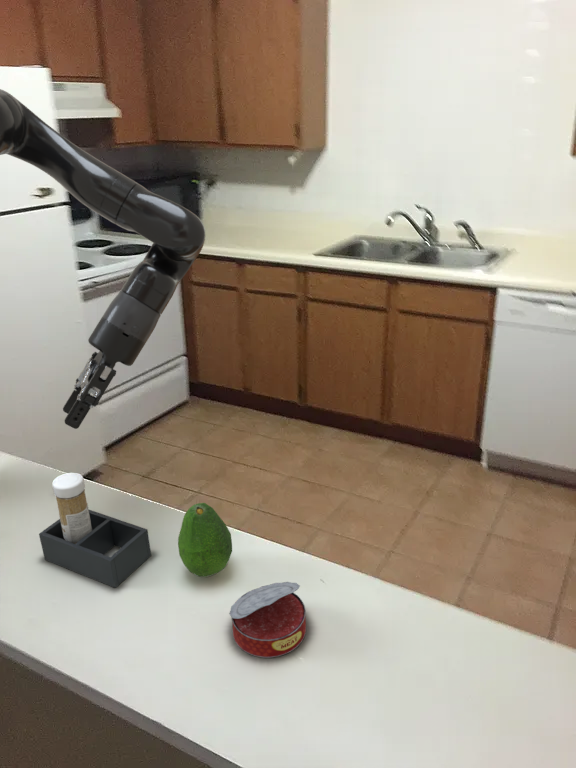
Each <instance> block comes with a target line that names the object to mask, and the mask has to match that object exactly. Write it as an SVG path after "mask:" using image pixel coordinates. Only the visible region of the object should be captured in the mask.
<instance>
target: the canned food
mask: <svg viewBox="0 0 576 768" xmlns="http://www.w3.org/2000/svg"><path fill="white" fill-rule="evenodd" d="M300 587H301V585H300V584H299V583H297V582H290V581H284V582H274V583H271V584H267V585H262V586H260V587H257V588H254V589H251V590H249V591H246V593H244V594H243V595H241V596H240V597H239V598H237V600H236V601H235V602H234V603H233V604H232V605H231V607H230V610H229V613H228V614H229V616H230V617H231V622H232V637H233V639H234V642H235V644H236V645H237V647H239V648H240V649H241V650H242V651H243V652H245V653H247V654H248V655H251V656H254V657H258V658H265V659H267V658H269V659H270V658H278V657H281V656H285V655H287V654H288V653H291V652H293V651H294V650H295V649H297V648H298V646H300V645H301V644H302V642H303V641H304V638H305V637H306V633H307V623H306V622H307V621H306V620H307V619H306V617H307V616H306V611H307V609H306V606H305V603H304V601H303V599H301V597H300V596H299V595H298V594H296V591H298V590H299V589H300Z"/></svg>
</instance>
